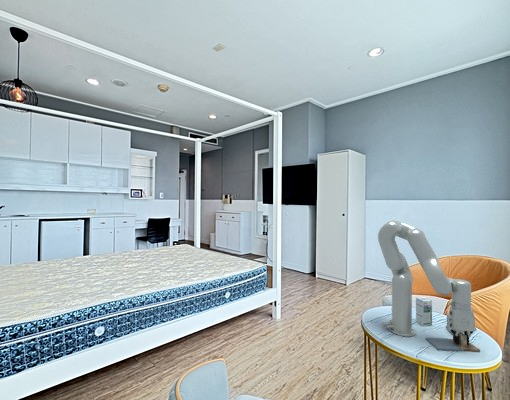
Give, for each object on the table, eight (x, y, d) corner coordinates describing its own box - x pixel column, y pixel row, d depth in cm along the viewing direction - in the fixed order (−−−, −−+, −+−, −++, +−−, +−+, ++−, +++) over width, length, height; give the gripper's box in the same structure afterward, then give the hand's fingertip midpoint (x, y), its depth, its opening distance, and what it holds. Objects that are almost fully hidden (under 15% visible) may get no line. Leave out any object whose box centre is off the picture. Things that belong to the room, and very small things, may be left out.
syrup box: (423, 326, 148) (423, 300, 149) (415, 321, 154) (415, 296, 154) (432, 325, 149) (432, 300, 149) (424, 321, 155) (424, 296, 155)
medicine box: (464, 337, 136) (464, 321, 136) (454, 336, 137) (454, 320, 137) (455, 330, 143) (455, 314, 144) (446, 329, 144) (446, 314, 145)
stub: (462, 350, 123) (462, 338, 123) (449, 340, 132) (449, 329, 132) (480, 351, 123) (480, 339, 123) (465, 341, 132) (465, 329, 132)
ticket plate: (438, 350, 123) (438, 348, 123) (425, 339, 133) (425, 337, 133) (462, 351, 123) (462, 349, 123) (447, 340, 133) (447, 338, 133)
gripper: (448, 308, 124) (448, 346, 124) (485, 309, 124) (485, 348, 123) (438, 302, 132) (438, 338, 132) (472, 303, 131) (472, 340, 131)
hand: (460, 342), depth 127 cm, fingers open, 3 cm apart
